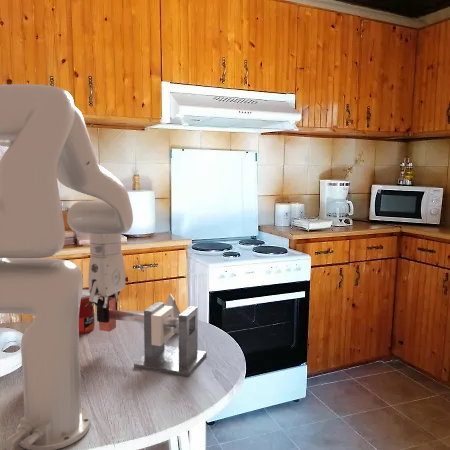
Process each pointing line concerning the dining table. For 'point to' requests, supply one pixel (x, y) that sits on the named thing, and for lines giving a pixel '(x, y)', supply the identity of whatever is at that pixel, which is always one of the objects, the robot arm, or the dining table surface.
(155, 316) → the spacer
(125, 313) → the shaft
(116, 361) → the dining table surface
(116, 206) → the robot arm
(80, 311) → the canned food
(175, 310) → the grey pointed block
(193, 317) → the bearing block
